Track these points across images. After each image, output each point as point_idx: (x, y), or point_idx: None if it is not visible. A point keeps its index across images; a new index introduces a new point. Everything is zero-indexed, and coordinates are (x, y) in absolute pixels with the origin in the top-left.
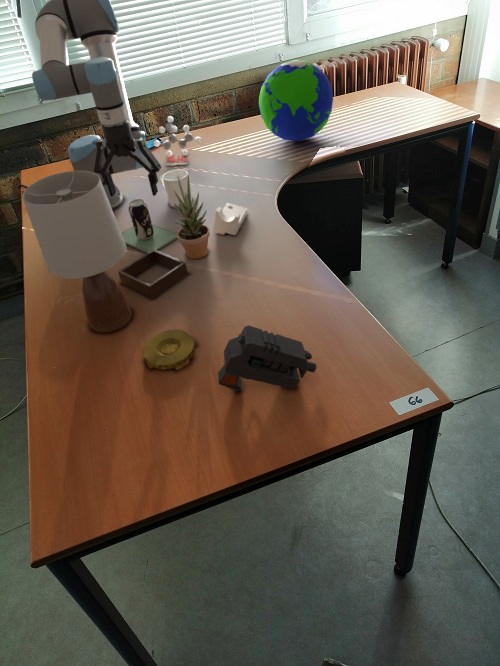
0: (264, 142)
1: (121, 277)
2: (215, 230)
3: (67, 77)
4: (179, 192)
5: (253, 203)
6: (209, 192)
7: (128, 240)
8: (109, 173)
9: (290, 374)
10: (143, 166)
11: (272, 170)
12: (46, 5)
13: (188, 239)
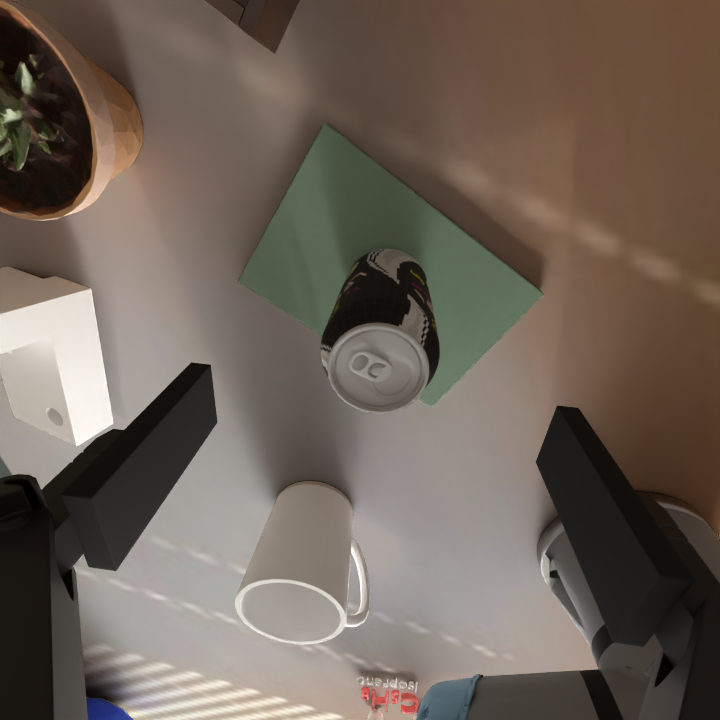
0: (181, 710)
1: None
2: (75, 288)
3: None
4: (282, 529)
5: (61, 467)
6: (237, 545)
7: (466, 261)
8: (619, 618)
9: None
10: (36, 619)
11: (97, 608)
12: None
13: (15, 58)
